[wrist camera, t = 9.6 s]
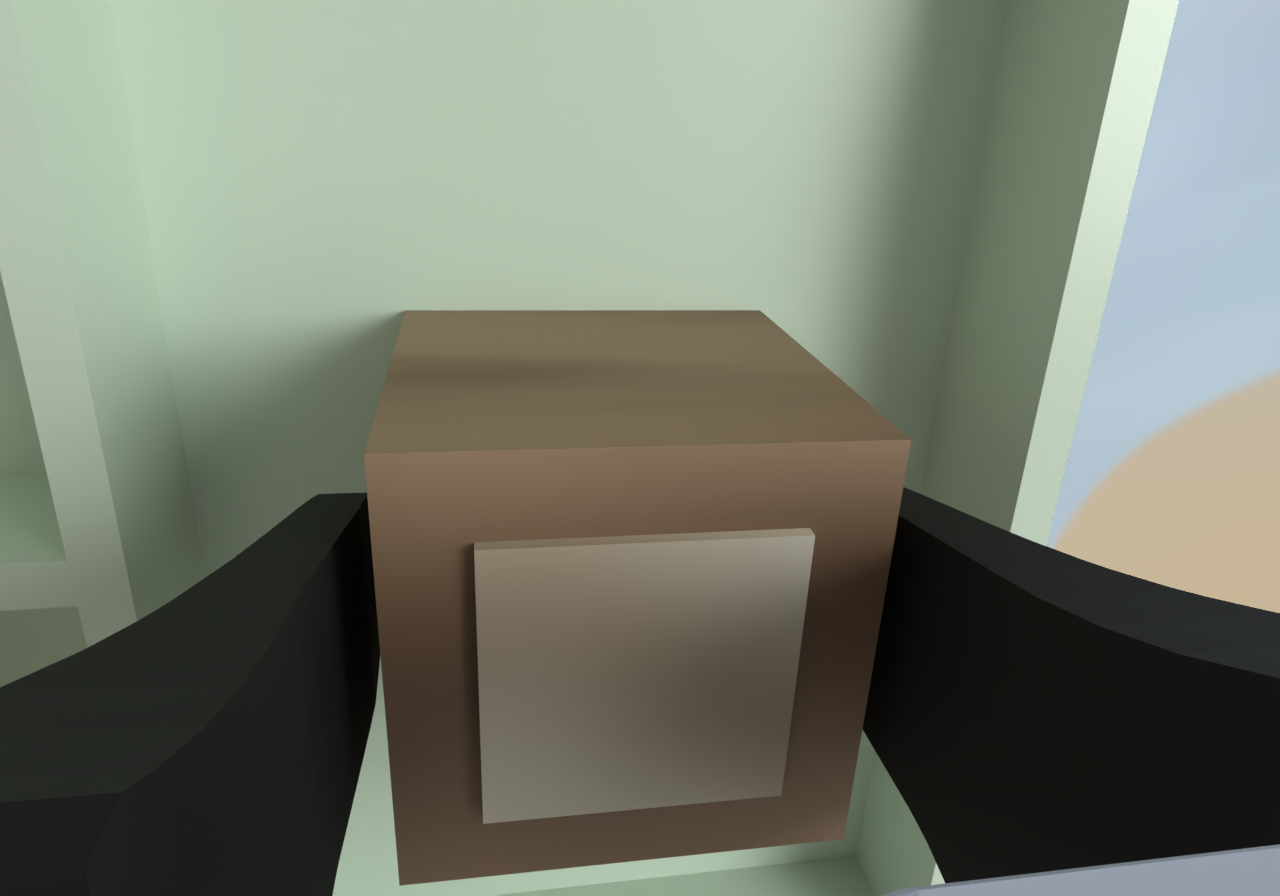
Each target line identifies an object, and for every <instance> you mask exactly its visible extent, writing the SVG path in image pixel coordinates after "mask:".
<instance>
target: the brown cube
mask: <svg viewBox="0 0 1280 896" xmlns="http://www.w3.org/2000/svg"><path fill="white" fill-rule="evenodd" d="M910 445H911V439H910V438H909V437H908V436H907V435H905V434H904V433H903V432H902V431H901V430H900V429H898V428H897V427H896V426H895V425H894V424H893V423H891V422H890V421H889V420H888V419H887V418H886V417H884V416H883V415H882V414H881V413H880V412H879V411H877V410H876V409H875V408H874V407H873V406H871V405H870V404H869V403H868V402H867V401H866V400H864V399H863V398H862V397H861V396H860V395H859V394H857V393H856V392H855V391H854V390H853V389H852V388H850V387H849V386H848V385H847V384H846V383H845V382H843V381H842V380H841V379H840V378H839V377H838V376H836V375H835V374H834V373H833V372H832V371H830V370H829V369H828V368H827V367H826V366H825V365H823V364H822V363H821V362H820V361H819V360H818V359H816V358H815V357H814V356H813V355H812V354H811V353H809V352H808V351H807V350H806V349H805V348H804V347H802V346H801V345H800V344H799V343H798V342H797V341H795V340H794V339H793V338H792V337H791V336H789V335H788V334H787V333H786V332H785V331H784V330H782V329H781V328H780V327H779V326H778V325H777V324H775V323H774V322H773V321H772V320H771V319H770V318H768V317H767V316H766V315H765V314H764V313H763V312H761V311H760V310H405V313H404V317H403V320H402V323H401V327H400V330H399V334H398V337H397V341H396V344H395V348H394V351H393V355H392V358H391V362H390V365H389V368H388V372H387V375H386V379H385V382H384V386H383V389H382V393H381V396H380V400H379V403H378V407H377V410H376V413H375V417H374V420H373V424H372V427H371V431H370V434H369V438H368V441H367V445H366V448H365V452H364V462H365V474H366V486H367V498H368V510H369V522H370V535H371V547H372V559H373V571H374V583H375V595H376V607H377V619H378V632H379V644H380V656H381V668H382V680H383V692H384V704H385V716H386V729H387V741H388V753H389V765H390V777H391V789H392V801H393V813H394V826H395V838H396V850H397V862H398V874H399V886H403V885H412V884H422V883H431V882H441V881H450V880H460V879H469V878H479V877H488V876H498V875H507V874H517V873H526V872H536V871H546V870H555V869H565V868H574V867H584V866H593V865H603V864H612V863H622V862H631V861H641V860H650V859H660V858H669V857H679V856H689V855H698V854H708V853H717V852H727V851H736V850H746V849H755V848H765V847H774V846H784V845H793V844H803V843H813V842H822V841H832V840H841V839H844V835H845V830H846V824H847V818H848V812H849V806H850V800H851V794H852V788H853V782H854V776H855V770H856V764H857V759H858V753H859V747H860V741H861V735H862V729H863V723H864V717H865V711H866V705H867V699H868V693H869V688H870V682H871V676H872V670H873V664H874V658H875V652H876V646H877V640H878V634H879V628H880V622H881V617H882V611H883V605H884V599H885V593H886V587H887V581H888V575H889V569H890V563H891V557H892V551H893V545H894V540H895V534H896V528H897V522H898V516H899V510H900V504H901V498H902V492H903V486H904V480H905V474H906V469H907V463H908V457H909V451H910Z"/></svg>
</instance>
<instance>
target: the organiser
mask: <svg viewBox="0 0 1280 896" xmlns="http://www.w3.org/2000/svg"><path fill="white" fill-rule="evenodd" d="M1178 3H1179V0H0V687H2V686H4V685H6V684H9V683H11V682H13V681H15V680H18V679H20V678H22V677H24V676H27V675H29V674H31V673H33V672H36V671H38V670H40V669H42V668H44V667H47V666H49V665H51V664H53V663H56V662H58V661H60V660H62V659H65V658H67V657H69V656H71V655H74V654H76V653H78V652H80V651H82V650H84V649H86V648H88V647H90V646H92V645H94V644H96V643H97V642H99V641H101V640H103V639H105V638H107V637H109V636H110V635H112V634H114V633H116V632H118V631H120V630H122V629H123V628H125V627H127V626H129V625H131V624H133V623H135V622H136V621H138V620H140V619H141V618H143V617H145V616H147V615H148V614H150V613H152V612H153V611H155V610H157V609H158V608H160V607H162V606H163V605H165V604H167V603H168V602H170V601H171V600H173V599H174V598H176V597H177V596H179V595H180V594H182V593H183V592H185V591H186V590H188V589H189V588H191V587H192V586H194V585H195V584H197V583H198V582H199V581H201V580H202V579H204V578H205V577H207V576H208V575H210V574H211V573H213V572H214V571H216V570H217V569H219V568H220V567H221V566H223V565H224V564H226V563H227V562H229V561H230V560H232V559H233V558H234V557H236V556H237V555H238V554H240V553H241V552H242V551H244V550H245V549H246V548H247V547H249V546H250V545H251V544H253V543H254V542H255V541H257V540H258V539H259V538H260V537H262V536H263V535H264V534H266V533H267V532H268V531H270V530H271V529H272V528H273V527H275V526H276V525H277V524H278V523H280V522H281V521H282V520H283V519H285V518H286V517H287V516H289V515H290V514H291V513H292V512H294V511H295V510H296V509H297V508H299V507H300V506H301V505H303V504H304V503H305V502H307V501H308V500H309V499H311V498H312V497H314V496H316V495H317V494H335V493H365V492H367V486H366V474H365V462H364V452H365V448H366V445H367V441H368V438H369V434H370V431H371V427H372V424H373V420H374V417H375V413H376V410H377V407H378V403H379V400H380V396H381V393H382V389H383V386H384V382H385V379H386V375H387V372H388V368H389V365H390V362H391V358H392V355H393V351H394V348H395V344H396V341H397V337H398V334H399V330H400V327H401V323H402V320H403V317H404V313H405V310H760V311H761V312H763V313H764V314H765V315H766V316H767V317H768V318H770V319H771V320H772V321H773V322H774V323H775V324H777V325H778V326H779V327H780V328H781V329H782V330H784V331H785V332H786V333H787V334H788V335H789V336H791V337H792V338H793V339H794V340H795V341H797V342H798V343H799V344H800V345H801V346H802V347H804V348H805V349H806V350H807V351H808V352H809V353H811V354H812V355H813V356H814V357H815V358H816V359H818V360H819V361H820V362H821V363H822V364H823V365H825V366H826V367H827V368H828V369H829V370H830V371H832V372H833V373H834V374H835V375H836V376H838V377H839V378H840V379H841V380H842V381H843V382H845V383H846V384H847V385H848V386H849V387H850V388H852V389H853V390H854V391H855V392H856V393H857V394H859V395H860V396H861V397H862V398H863V399H864V400H866V401H867V402H868V403H869V404H870V405H871V406H873V407H874V408H875V409H876V410H877V411H879V412H880V413H881V414H882V415H883V416H884V417H886V418H887V419H888V420H889V421H890V422H891V423H893V424H894V425H895V426H896V427H897V428H898V429H900V430H901V431H902V432H903V433H904V434H905V435H907V436H908V437H909V438H910V439H911V445H910V451H909V457H908V463H907V469H906V474H905V480H904V486H903V487H905V488H907V489H910V490H912V491H915V492H917V493H920V494H922V495H924V496H927V497H929V498H931V499H934V500H936V501H938V502H941V503H943V504H945V505H948V506H950V507H952V508H955V509H957V510H959V511H962V512H964V513H966V514H969V515H971V516H973V517H976V518H978V519H980V520H983V521H985V522H987V523H990V524H992V525H994V526H997V527H999V528H1001V529H1004V530H1006V531H1009V532H1011V533H1014V534H1016V535H1019V536H1021V537H1023V538H1026V539H1028V540H1031V541H1033V542H1036V543H1039V544H1041V545H1044V546H1046V545H1047V541H1048V537H1049V533H1050V529H1051V525H1052V521H1053V517H1054V512H1055V508H1056V504H1057V500H1058V496H1059V492H1060V488H1061V484H1062V480H1063V475H1064V471H1065V467H1066V463H1067V459H1068V455H1069V451H1070V447H1071V443H1072V438H1073V434H1074V430H1075V426H1076V422H1077V418H1078V414H1079V410H1080V406H1081V401H1082V397H1083V393H1084V389H1085V385H1086V381H1087V377H1088V373H1089V369H1090V364H1091V360H1092V356H1093V352H1094V348H1095V344H1096V340H1097V336H1098V332H1099V327H1100V323H1101V319H1102V315H1103V311H1104V307H1105V303H1106V299H1107V295H1108V290H1109V286H1110V282H1111V278H1112V274H1113V270H1114V266H1115V262H1116V258H1117V253H1118V249H1119V245H1120V241H1121V237H1122V233H1123V229H1124V225H1125V221H1126V216H1127V212H1128V208H1129V204H1130V200H1131V196H1132V192H1133V188H1134V184H1135V179H1136V175H1137V171H1138V167H1139V163H1140V159H1141V155H1142V151H1143V146H1144V142H1145V138H1146V134H1147V130H1148V126H1149V122H1150V118H1151V114H1152V109H1153V105H1154V101H1155V97H1156V93H1157V89H1158V85H1159V81H1160V77H1161V72H1162V68H1163V64H1164V60H1165V56H1166V52H1167V48H1168V44H1169V40H1170V35H1171V31H1172V27H1173V23H1174V19H1175V15H1176V11H1177V7H1178ZM937 884H945V882H944V879H943V877H942V875H941V873H940V870H939V868H938V866H937V864H936V861H935V859H934V857H933V855H932V853H931V850H930V848H929V846H928V844H927V842H926V840H925V838H924V836H923V834H922V832H921V830H920V828H919V826H918V824H917V823H916V821H915V819H914V817H913V815H912V813H911V811H910V809H909V808H908V806H907V804H906V802H905V801H904V799H903V797H902V796H901V794H900V792H899V791H898V789H897V787H896V785H895V784H894V782H893V780H892V779H891V777H890V775H889V774H888V772H887V770H886V768H885V767H884V765H883V763H882V762H881V760H880V758H879V757H878V755H877V753H876V751H875V750H874V748H873V746H872V745H871V743H870V741H869V740H868V738H867V736H866V735H865V733H864V731H863V729H862V735H861V741H860V747H859V753H858V759H857V764H856V770H855V776H854V782H853V788H852V794H851V800H850V806H849V812H848V818H847V824H846V830H845V835H844V839H841V840H832V841H822V842H813V843H803V844H793V845H784V846H774V847H765V848H755V849H746V850H736V851H727V852H717V853H708V854H698V855H689V856H679V857H669V858H660V859H650V860H641V861H631V862H622V863H612V864H603V865H593V866H584V867H574V868H565V869H555V870H546V871H536V872H526V873H517V874H507V875H498V876H488V877H479V878H469V879H460V880H450V881H441V882H431V883H422V884H412V885H403V886H399V874H398V862H397V850H396V838H395V826H394V813H393V801H392V789H391V777H390V765H389V753H388V741H387V729H386V716H385V704H384V692H383V680H382V668H381V656H380V664H379V676H378V686H377V696H376V705H375V710H374V714H373V719H372V723H371V728H370V732H369V736H368V741H367V745H366V749H365V754H364V758H363V762H362V767H361V771H360V775H359V779H358V783H357V788H356V792H355V796H354V800H353V805H352V809H351V813H350V817H349V822H348V826H347V830H346V834H345V838H344V843H343V847H342V851H341V855H340V860H339V864H338V869H337V874H336V879H335V885H334V890H333V895H332V896H881V895H884V894H887V893H890V892H894V891H897V890H900V889H903V888H911V887H919V886H928V885H937Z"/></svg>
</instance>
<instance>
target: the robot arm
mask: <svg viewBox="0 0 1280 896" xmlns="http://www.w3.org/2000/svg"><path fill="white" fill-rule="evenodd" d="M379 664H380V644H379V632H378V619H377V607H376V595H375V583H374V571H373V559H372V547H371V535H370V522H369V510H368V498H367V492H365V493H335V494H317V495H316V496H314V497H312V498H311V499H309V500H308V501H307V502H305V503H304V504H303V505H301V506H300V507H299V508H297V509H296V510H295V511H294V512H292V513H291V514H290V515H289V516H287V517H286V518H285V519H283V520H282V521H281V522H280V523H278V524H277V525H276V526H275V527H273V528H272V529H271V530H270V531H268V532H267V533H266V534H264V535H263V536H262V537H260V538H259V539H258V540H257V541H255V542H254V543H253V544H251V545H250V546H249V547H247V548H246V549H245V550H244V551H242V552H241V553H240V554H238V555H237V556H236V557H234V558H233V559H232V560H230V561H229V562H227V563H226V564H224V565H223V566H221V567H220V568H219V569H217V570H216V571H214V572H213V573H211V574H210V575H208V576H207V577H205V578H204V579H202V580H201V581H199V582H198V583H197V584H195V585H194V586H192V587H191V588H189V589H188V590H186V591H185V592H183V593H182V594H180V595H179V596H177V597H176V598H174V599H173V600H171V601H170V602H168V603H167V604H165V605H163V606H162V607H160V608H158V609H157V610H155V611H153V612H152V613H150V614H148V615H147V616H145V617H143V618H141V619H140V620H138V621H136V622H135V623H133V624H131V625H129V626H127V627H125V628H123V629H122V630H120V631H118V632H116V633H114V634H112V635H110V636H109V637H107V638H105V639H103V640H101V641H99V642H97V643H96V644H94V645H92V646H90V647H88V648H86V649H84V650H82V651H80V652H78V653H76V654H74V655H71V656H69V657H67V658H65V659H62V660H60V661H58V662H56V663H53V664H51V665H49V666H47V667H44V668H42V669H40V670H38V671H36V672H33V673H31V674H29V675H27V676H24V677H22V678H20V679H18V680H15V681H13V682H11V683H9V684H6V685H4V686H2V687H0V896H332V895H333V890H334V885H335V879H336V874H337V869H338V864H339V860H340V855H341V851H342V847H343V843H344V838H345V834H346V830H347V826H348V822H349V817H350V813H351V809H352V805H353V800H354V796H355V792H356V788H357V783H358V779H359V775H360V771H361V767H362V762H363V758H364V754H365V749H366V745H367V741H368V736H369V732H370V728H371V723H372V719H373V714H374V710H375V705H376V696H377V686H378V676H379ZM863 731H864V733H865V735H866V736H867V738H868V740H869V741H870V743H871V745H872V746H873V748H874V750H875V751H876V753H877V755H878V757H879V758H880V760H881V762H882V763H883V765H884V767H885V768H886V770H887V772H888V774H889V775H890V777H891V779H892V780H893V782H894V784H895V785H896V787H897V789H898V791H899V792H900V794H901V796H902V797H903V799H904V801H905V802H906V804H907V806H908V808H909V809H910V811H911V813H912V815H913V817H914V819H915V821H916V823H917V824H918V826H919V828H920V830H921V832H922V834H923V836H924V838H925V840H926V842H927V844H928V846H929V848H930V850H931V853H932V855H933V857H934V859H935V861H936V864H937V866H938V868H939V870H940V873H941V875H942V877H943V879H944V882H945V884H937V885H928V886H919V887H911V888H903V889H900V890H897V891H894V892H890V893H887V894H884V895H881V896H1280V613H1275V612H1271V611H1266V610H1262V609H1257V608H1253V607H1248V606H1244V605H1240V604H1235V603H1231V602H1227V601H1222V600H1218V599H1214V598H1209V597H1205V596H1201V595H1197V594H1193V593H1190V592H1185V591H1182V590H1178V589H1174V588H1170V587H1167V586H1163V585H1160V584H1157V583H1154V582H1150V581H1147V580H1144V579H1140V578H1137V577H1134V576H1131V575H1127V574H1124V573H1121V572H1117V571H1114V570H1111V569H1108V568H1105V567H1102V566H1099V565H1096V564H1093V563H1090V562H1087V561H1084V560H1081V559H1078V558H1076V557H1073V556H1071V555H1068V554H1065V553H1063V552H1060V551H1057V550H1055V549H1052V548H1049V547H1047V546H1044V545H1041V544H1039V543H1036V542H1033V541H1031V540H1028V539H1026V538H1023V537H1021V536H1019V535H1016V534H1014V533H1011V532H1009V531H1006V530H1004V529H1001V528H999V527H997V526H994V525H992V524H990V523H987V522H985V521H983V520H980V519H978V518H976V517H973V516H971V515H969V514H966V513H964V512H962V511H959V510H957V509H955V508H952V507H950V506H948V505H945V504H943V503H941V502H938V501H936V500H934V499H931V498H929V497H927V496H924V495H922V494H920V493H917V492H915V491H912V490H910V489H907V488H905V487H903V492H902V498H901V504H900V510H899V516H898V522H897V528H896V534H895V540H894V545H893V551H892V557H891V563H890V569H889V575H888V581H887V587H886V593H885V599H884V605H883V611H882V617H881V622H880V628H879V634H878V640H877V646H876V652H875V658H874V664H873V670H872V676H871V682H870V688H869V693H868V699H867V705H866V711H865V717H864V723H863Z"/></svg>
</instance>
